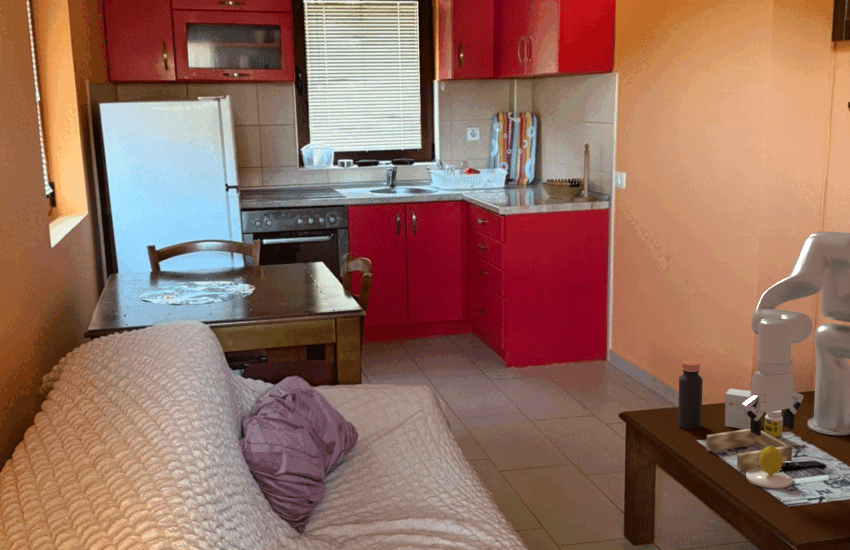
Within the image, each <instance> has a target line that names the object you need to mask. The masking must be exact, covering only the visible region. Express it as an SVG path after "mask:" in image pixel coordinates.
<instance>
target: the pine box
mask: <svg viewBox="0 0 850 550" xmlns="http://www.w3.org/2000/svg"><path fill="white" fill-rule="evenodd" d="M754 444H755V446H756V445H757V446H756V447H758V446H759V447H758V448H760V447H761V448H762V449H761V448H760V449H759V450H752V451H746V452H740V453H736V455H737V457H736V458H737V459H736V471H738V472H744V471H746V472H747V470H749V469H751V468H754V467H759V466H760V464H759V457H760V453H761V451H762V450H763V449H764V448H766V447H769V446H773V447H775V448H777V449H778V450H779V451H780V453H781V455H782V460H783V462H785V461H792V460H793V446H791V445H790V444H787V443H785V442H784V441H782V440H781V439H780V440H778V439H776V438H775V437H773V436H771V435H769V434H767V433H765V432H764V430H761V435H759V436H758V435H756V434H754V433H752V432H751V429H739V430H732V431H725V432H717V433H711V434H707V435H706V446H705V447H706V448H705V450H706V451H707V450H708V451H711V452H716V451H715V450H717V451H722V450H723V449H724V450H728V449H735V448H741V447H742V448H743V447H748V446H754ZM724 450H723V451H724ZM708 451H707V452H708ZM792 462H793V461H792Z"/></svg>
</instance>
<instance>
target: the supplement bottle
mask: <svg viewBox="0 0 850 550" xmlns="http://www.w3.org/2000/svg"><path fill="white" fill-rule="evenodd" d="M782 412H783V410H779V411H773V412H767V413H766V415H765V416H764V427H763V432H765V433H767V434H769V435H771V436H773V437H775V438H776V439H780V440H781V439H782V438H783V426H784V425H783V416H782V414H783V413H782Z"/></svg>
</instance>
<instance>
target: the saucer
mask: <svg viewBox="0 0 850 550" xmlns="http://www.w3.org/2000/svg"><path fill="white" fill-rule="evenodd" d="M745 478H746V480H747V481H748V482H749V483H750V484H752V485H754V486H758V487H760V488H765V489H772V490H773V489H774V490H778V489H780V490H781V489H787V488H790V487H791V486H792V485H793V481H794V480H793V479H794V478H793V476H792V475H791V477H790V478H786V477H782V476H780V475H778V474H777V473H775V474H772V475H769V474H768V473H766V472H764V471H763V470H762V468H761V467H754V468H751V469H749V470H746V473H745ZM792 480H793V481H792Z"/></svg>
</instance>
